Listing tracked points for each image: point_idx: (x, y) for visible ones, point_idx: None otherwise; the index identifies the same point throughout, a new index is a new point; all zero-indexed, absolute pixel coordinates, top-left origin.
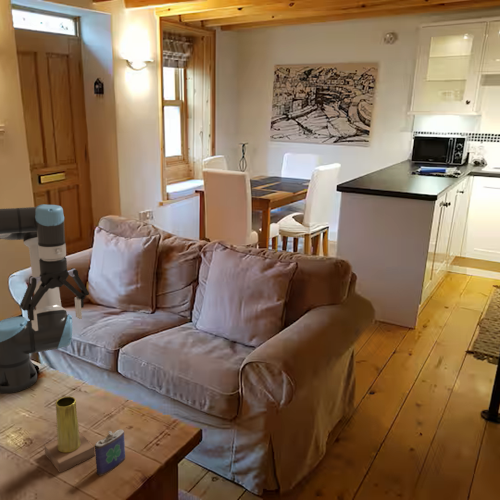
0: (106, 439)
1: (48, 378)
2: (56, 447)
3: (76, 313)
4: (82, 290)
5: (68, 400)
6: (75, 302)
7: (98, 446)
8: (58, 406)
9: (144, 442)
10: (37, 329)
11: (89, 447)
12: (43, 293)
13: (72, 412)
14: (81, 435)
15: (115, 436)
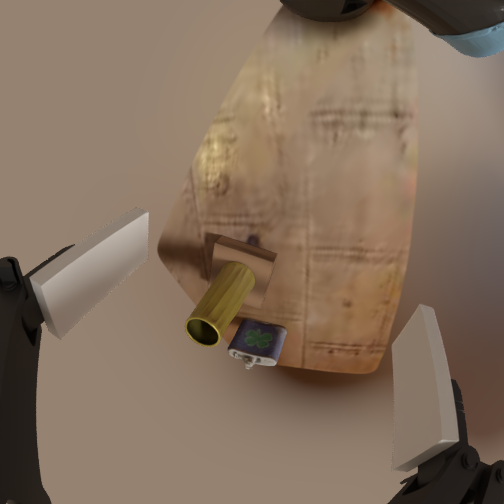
0: (242, 359)
1: (387, 28)
2: (223, 263)
3: (416, 334)
4: (479, 499)
5: (217, 322)
6: (431, 404)
7: (229, 354)
8: (185, 330)
9: (325, 337)
10: (140, 262)
11: (254, 304)
12: (31, 465)
13: (211, 334)
14: (266, 276)
15: (260, 359)
